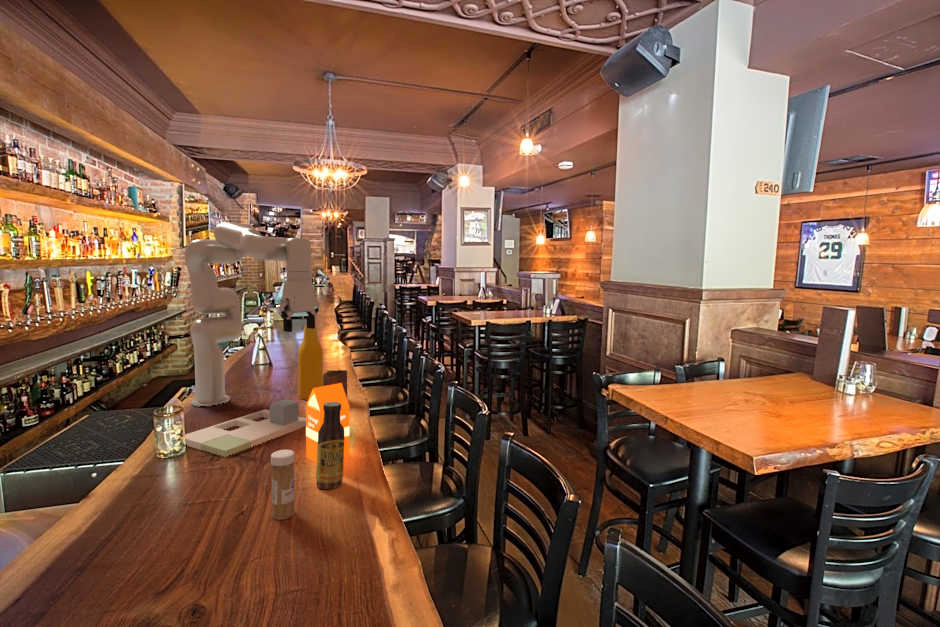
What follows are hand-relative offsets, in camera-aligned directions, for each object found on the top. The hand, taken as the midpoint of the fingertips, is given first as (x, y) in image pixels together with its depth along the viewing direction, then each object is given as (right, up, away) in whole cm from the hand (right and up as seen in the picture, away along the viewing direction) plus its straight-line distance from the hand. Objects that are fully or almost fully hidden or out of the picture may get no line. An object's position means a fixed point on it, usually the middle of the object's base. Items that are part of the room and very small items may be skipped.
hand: (299, 329), depth 150 cm
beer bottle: (-8, -28, +33) cm, 44 cm away
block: (-4, -29, -2) cm, 30 cm away
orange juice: (+16, -34, -23) cm, 44 cm away
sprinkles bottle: (+16, -37, -53) cm, 67 cm away
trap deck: (-13, -32, -8) cm, 35 cm away
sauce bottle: (+22, -36, -39) cm, 57 cm away
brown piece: (+13, -32, -6) cm, 36 cm away
